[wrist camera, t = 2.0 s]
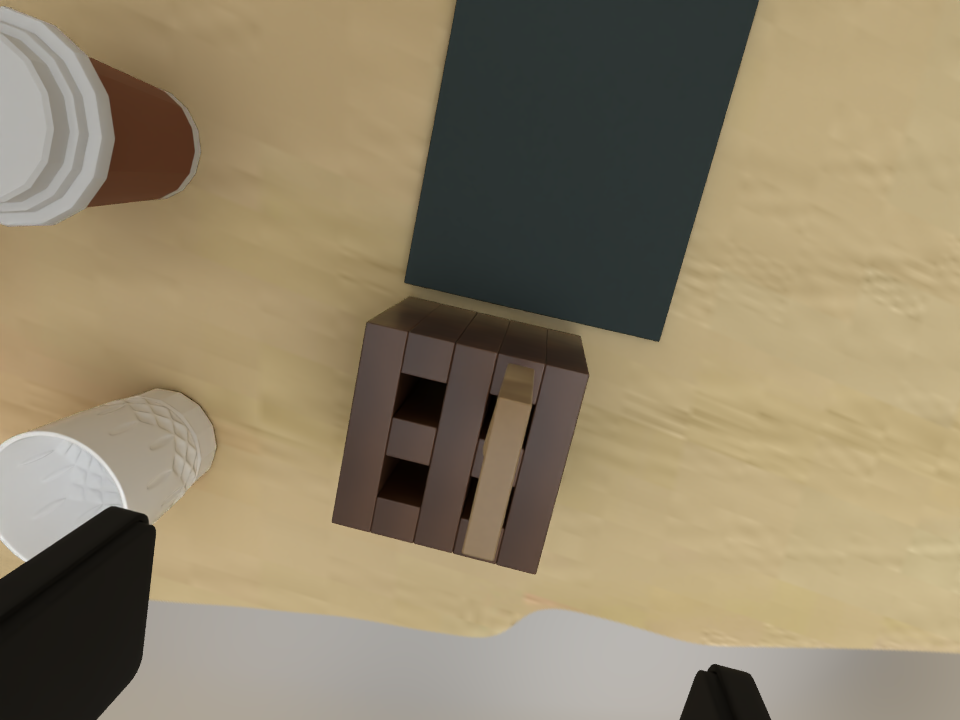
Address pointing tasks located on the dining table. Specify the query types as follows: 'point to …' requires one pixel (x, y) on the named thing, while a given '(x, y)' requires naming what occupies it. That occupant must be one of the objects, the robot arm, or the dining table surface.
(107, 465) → the white cup
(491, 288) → the mat
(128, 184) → the coffee cup
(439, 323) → the utensil block
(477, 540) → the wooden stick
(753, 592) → the dining table surface
